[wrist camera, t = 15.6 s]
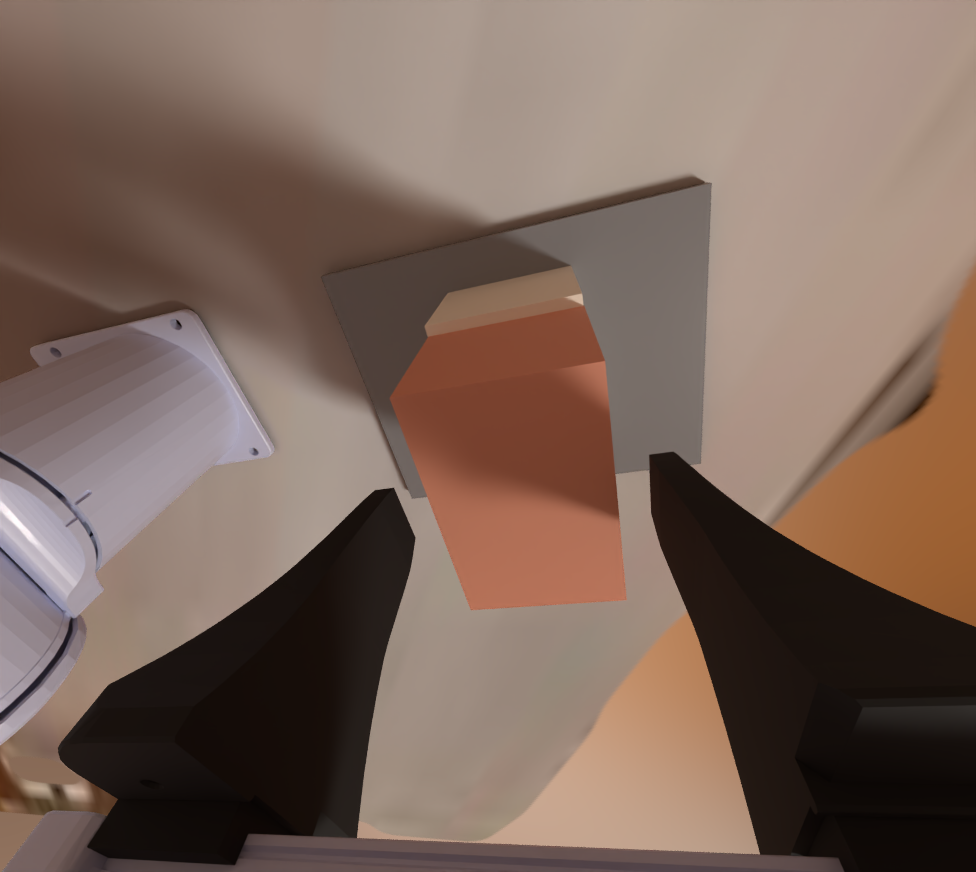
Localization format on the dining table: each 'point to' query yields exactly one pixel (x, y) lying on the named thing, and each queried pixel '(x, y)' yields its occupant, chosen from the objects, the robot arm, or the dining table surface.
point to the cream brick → (506, 301)
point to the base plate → (606, 296)
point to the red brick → (518, 459)
